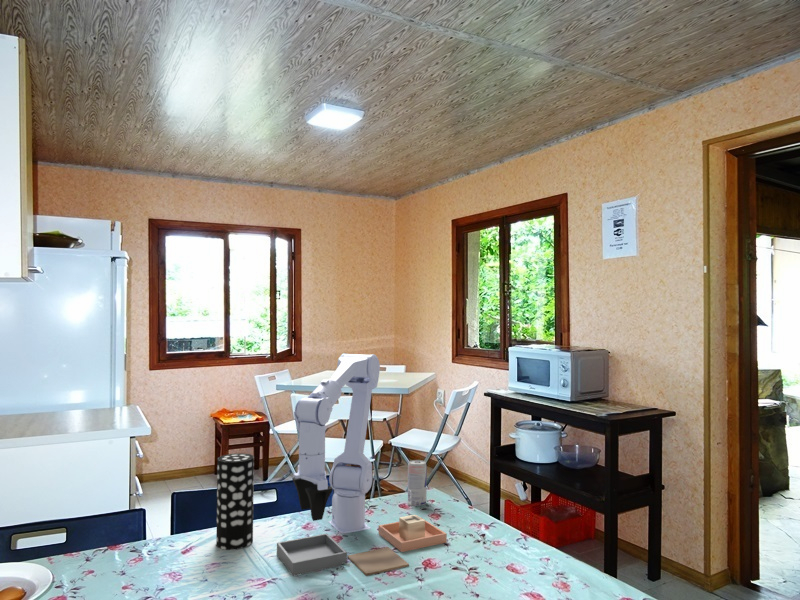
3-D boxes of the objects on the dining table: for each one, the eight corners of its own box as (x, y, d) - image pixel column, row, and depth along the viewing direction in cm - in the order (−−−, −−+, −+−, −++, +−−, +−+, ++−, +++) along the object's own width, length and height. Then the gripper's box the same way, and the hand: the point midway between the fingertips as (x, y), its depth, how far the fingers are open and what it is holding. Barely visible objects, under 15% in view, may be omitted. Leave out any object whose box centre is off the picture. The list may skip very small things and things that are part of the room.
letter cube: (399, 536, 137) (399, 517, 137) (415, 533, 139) (415, 514, 140) (408, 542, 133) (408, 523, 133) (424, 539, 135) (424, 520, 136)
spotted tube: (208, 546, 132) (209, 460, 133) (231, 533, 140) (232, 452, 140) (237, 552, 129) (239, 463, 130) (260, 539, 137) (261, 455, 137)
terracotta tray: (378, 536, 139) (378, 525, 139) (421, 527, 144) (421, 517, 145) (401, 554, 128) (401, 542, 128) (446, 544, 134) (446, 533, 134)
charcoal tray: (276, 554, 128) (276, 542, 128) (326, 544, 134) (327, 533, 134) (292, 576, 117) (293, 563, 117) (346, 564, 123) (346, 552, 123)
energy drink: (426, 501, 165) (427, 460, 165) (425, 507, 159) (426, 464, 160) (408, 501, 165) (408, 459, 166) (406, 507, 160) (407, 464, 160)
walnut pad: (347, 559, 125) (347, 555, 125) (387, 551, 130) (387, 546, 130) (366, 578, 116) (366, 573, 116) (408, 568, 121) (409, 563, 121)
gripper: (284, 447, 131) (284, 506, 130) (305, 461, 118) (304, 528, 117) (314, 444, 134) (313, 502, 134) (337, 458, 121) (336, 522, 121)
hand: (311, 514), depth 126 cm, fingers open, 7 cm apart
